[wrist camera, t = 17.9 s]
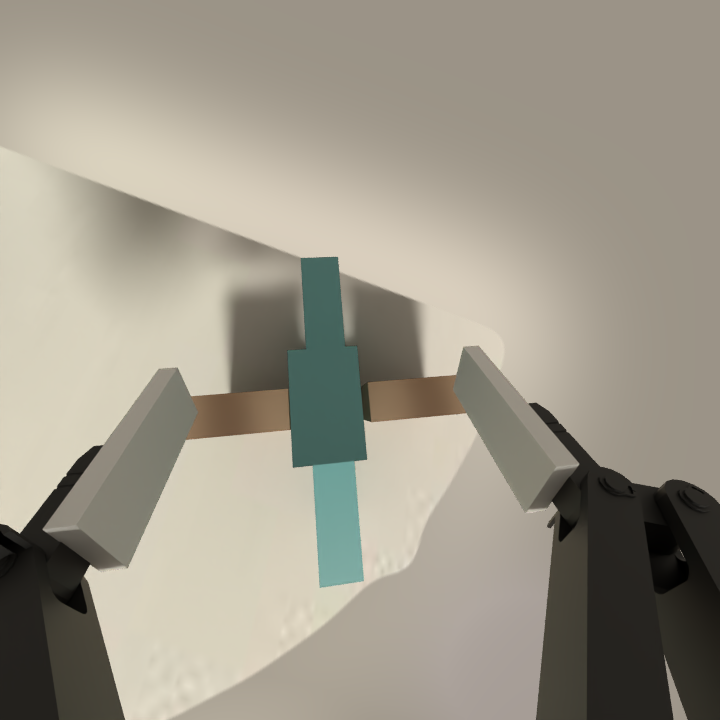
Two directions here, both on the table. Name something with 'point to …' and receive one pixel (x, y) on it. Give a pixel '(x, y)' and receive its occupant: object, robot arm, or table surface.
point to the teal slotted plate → (328, 421)
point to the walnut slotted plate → (274, 406)
